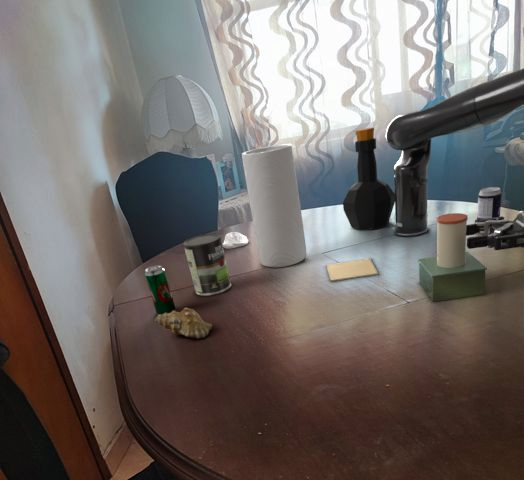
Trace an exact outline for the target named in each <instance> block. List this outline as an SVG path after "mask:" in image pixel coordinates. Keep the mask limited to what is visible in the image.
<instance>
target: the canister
mask: <svg viewBox="0 0 524 480" xmlns="http://www.w3.org/2000/svg"><path fill="white" fill-rule="evenodd" d="M468 219H469V217H468V215H467V214H466V213H460V212H459V213H458V212H454V213H445V214H441V215H439V216H437V217H436V223H437V224H436V225H437V227H436V228H437V229H436V231H437V232H436V257H437V265H438V266H440V267H443V268H455V267H460V266H462V265H464V264H465V252H466V248H467V236H466V225H468V223H467V221H468Z"/></svg>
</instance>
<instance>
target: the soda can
mask: <svg viewBox="0 0 524 480" xmlns="http://www.w3.org/2000/svg"><path fill="white" fill-rule="evenodd" d="M144 278H145V281H146V284H147V287H148V291H149V294H150V296H151V301H152V304H153V306H154V309H155V313H156V315H160V314H161V315H162V314H164V313H171V312H172V311H173V310H174V311H176V308H177V307H176V304H175V302H174V301H175V300H174V297H173V294H172V291H171V286H170V283H169V280H168V277H167V273H166V270H165V268H163V265H161V264H159V265H152V266H149V267H147V268H145V270H144Z"/></svg>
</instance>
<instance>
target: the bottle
mask: <svg viewBox="0 0 524 480" xmlns="http://www.w3.org/2000/svg"><path fill="white" fill-rule="evenodd" d="M374 135H375V127H371V126H370V127H364V128H359V129H356V130H355V136H356V141H355V142H354V145H355V148H354V149H355V152H356V153H357V164H356V165H357V167H356V168H357V180H358V181H357V182H355V183H353V184H352V185H351V187H350V188H349V190H348V191H347V193H346V196H345V198H344V200H343V202H342V208H343V212H344V214H345V216H346V219H347V221H348V222H349V225H350V227H351V228H352V229H354V230H358V231H368V230H369V231H370V230H377V229H380V228H384V227H387V225H388V223H389V222H390V219H391V216H392V214H393V213H392V212H393V210H394V208H395V191H394V190H393V189H392V188H391V186H390V185H389V184H388V183H386V182H385V181H382V180H380V179H378V169H377V167H378V166H377V165H378V164H377V160H376V153H375V150H376V149H377V138H376V137H374Z"/></svg>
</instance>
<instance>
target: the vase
mask: <svg viewBox="0 0 524 480" xmlns="http://www.w3.org/2000/svg"><path fill="white" fill-rule="evenodd" d="M241 158H242V164H243V165H242V166H243V170H244V176H245V183H246V190H247V195H248V200H249V201H248V202H249V206H250V213H251V219H252V224H253V231H254V236H255V242H256V247H257V248H256V249H257V254H258V257H259V261H260V264H261V265H263V266H264V267H266V268H273V269H274V268H276V269H277V268H286V267H289V266H293V265H297V264H299V263H301V262H303V260H305V258H306V257H307V245H306V237H305V230H304V229H305V228H304V222H303V216H302V215H303V214H302V207H301V200H300V193H299V184H298V178H297V171H296V170H297V169H296V164H295V157H294V149H293V144H292V143H281V144H272V145H268V146H262V147H258V148H254V149H250V150H247V151H243V152H242V153H241Z"/></svg>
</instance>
